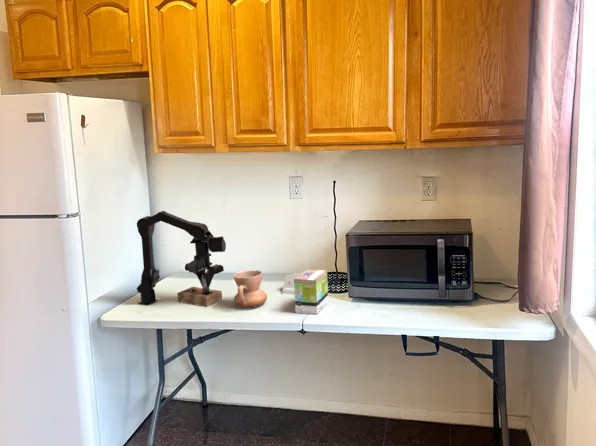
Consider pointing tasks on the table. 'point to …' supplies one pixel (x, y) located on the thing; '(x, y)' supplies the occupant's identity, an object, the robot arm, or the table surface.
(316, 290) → the tea box
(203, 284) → the peg
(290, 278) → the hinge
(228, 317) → the table surface
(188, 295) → the hole block
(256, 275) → the ceramic jug
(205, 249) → the robot arm
